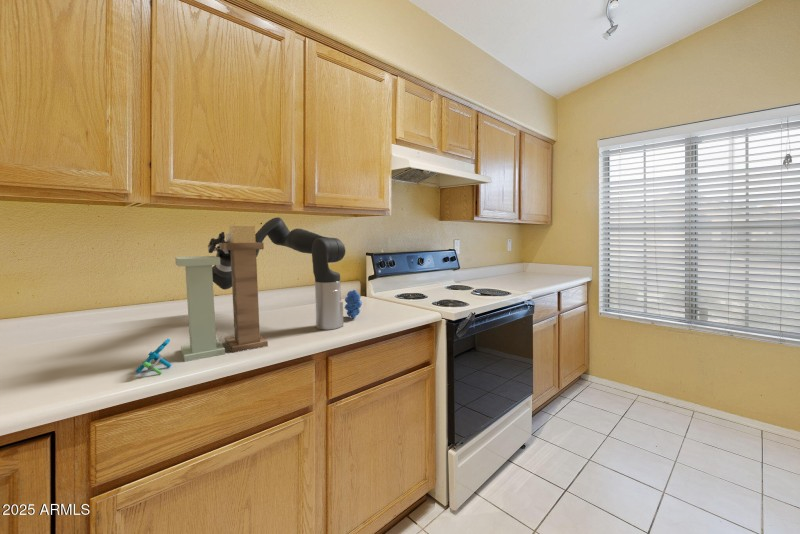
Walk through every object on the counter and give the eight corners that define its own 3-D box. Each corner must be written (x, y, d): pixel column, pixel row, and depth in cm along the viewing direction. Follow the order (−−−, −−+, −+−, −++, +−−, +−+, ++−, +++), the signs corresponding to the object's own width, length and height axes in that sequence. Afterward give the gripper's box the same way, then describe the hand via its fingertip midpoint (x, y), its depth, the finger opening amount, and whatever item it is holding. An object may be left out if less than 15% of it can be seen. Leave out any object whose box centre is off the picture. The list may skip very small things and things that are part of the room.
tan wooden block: (221, 242, 118) (220, 227, 118) (240, 242, 122) (239, 227, 121) (233, 243, 101) (233, 225, 101) (255, 242, 105) (254, 226, 104)
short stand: (181, 350, 104) (175, 257, 102) (218, 343, 110) (213, 255, 108) (184, 361, 95) (178, 259, 92) (225, 354, 101) (220, 257, 98)
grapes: (369, 319, 142) (369, 290, 141) (355, 321, 138) (354, 291, 137) (355, 314, 152) (354, 286, 150) (341, 316, 147) (340, 288, 146)
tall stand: (225, 342, 112) (219, 242, 109) (257, 337, 117) (253, 242, 115) (232, 352, 102) (227, 243, 99) (267, 346, 108) (263, 242, 105)
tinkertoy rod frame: (144, 357, 93) (171, 331, 93) (163, 370, 95) (190, 344, 95) (124, 379, 83) (154, 349, 83) (146, 393, 85) (176, 363, 85)
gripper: (250, 265, 130) (259, 243, 117) (206, 268, 121) (211, 244, 109) (247, 248, 132) (255, 224, 120) (203, 249, 124) (208, 224, 111)
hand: (234, 234), depth 114 cm, fingers open, 6 cm apart
